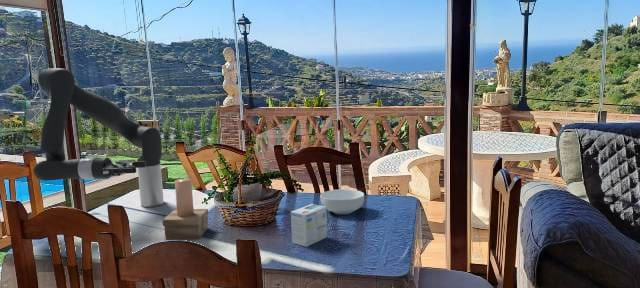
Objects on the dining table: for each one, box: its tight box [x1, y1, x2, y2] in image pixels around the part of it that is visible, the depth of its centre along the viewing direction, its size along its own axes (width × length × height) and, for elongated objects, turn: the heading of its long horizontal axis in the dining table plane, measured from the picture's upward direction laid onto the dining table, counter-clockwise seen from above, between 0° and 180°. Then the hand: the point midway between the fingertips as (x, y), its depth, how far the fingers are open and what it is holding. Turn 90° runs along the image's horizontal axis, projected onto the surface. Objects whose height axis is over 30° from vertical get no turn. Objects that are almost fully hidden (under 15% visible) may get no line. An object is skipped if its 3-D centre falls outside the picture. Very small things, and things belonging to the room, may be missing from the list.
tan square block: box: [162, 208, 209, 241], centre depth 167 cm, size 12×12×7 cm
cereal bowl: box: [319, 188, 365, 215], centre depth 187 cm, size 17×17×7 cm
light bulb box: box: [290, 203, 328, 248], centre depth 157 cm, size 11×7×11 cm, turn 141°
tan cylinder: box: [174, 178, 195, 217], centre depth 166 cm, size 6×6×12 cm
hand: (140, 166), depth 170 cm, fingers open, 8 cm apart
